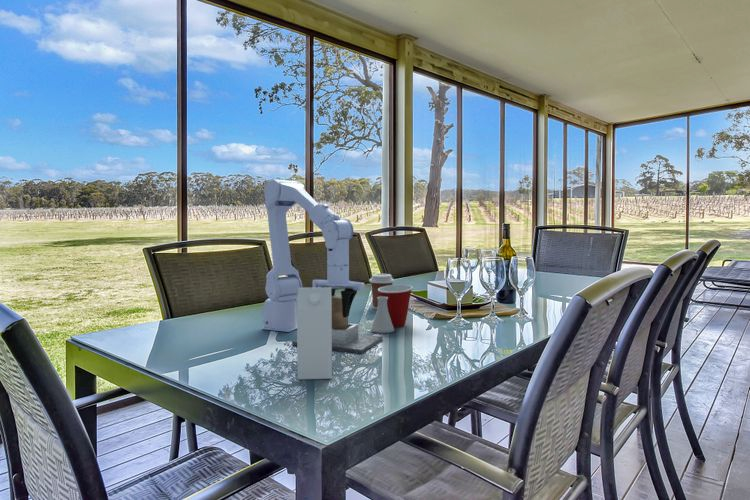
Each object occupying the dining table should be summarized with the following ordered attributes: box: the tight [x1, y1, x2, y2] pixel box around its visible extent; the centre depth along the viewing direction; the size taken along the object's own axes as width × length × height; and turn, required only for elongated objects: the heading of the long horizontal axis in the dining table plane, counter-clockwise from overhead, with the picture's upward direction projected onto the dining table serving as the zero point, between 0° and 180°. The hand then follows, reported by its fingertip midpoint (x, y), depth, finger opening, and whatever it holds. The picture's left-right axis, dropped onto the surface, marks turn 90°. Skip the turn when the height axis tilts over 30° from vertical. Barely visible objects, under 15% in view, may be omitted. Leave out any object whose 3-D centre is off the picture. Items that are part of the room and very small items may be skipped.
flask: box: [370, 297, 395, 334], centre depth 147 cm, size 7×7×10 cm
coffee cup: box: [368, 273, 395, 310], centre depth 182 cm, size 9×9×12 cm
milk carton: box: [296, 287, 333, 380], centre depth 108 cm, size 7×7×19 cm
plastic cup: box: [378, 284, 414, 328], centre depth 154 cm, size 11×11×12 cm
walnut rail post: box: [331, 295, 349, 329], centre depth 134 cm, size 4×4×8 cm
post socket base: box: [291, 322, 384, 355], centre depth 134 cm, size 20×14×4 cm
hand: (338, 315), depth 134 cm, fingers closed on walnut rail post, 4 cm apart
